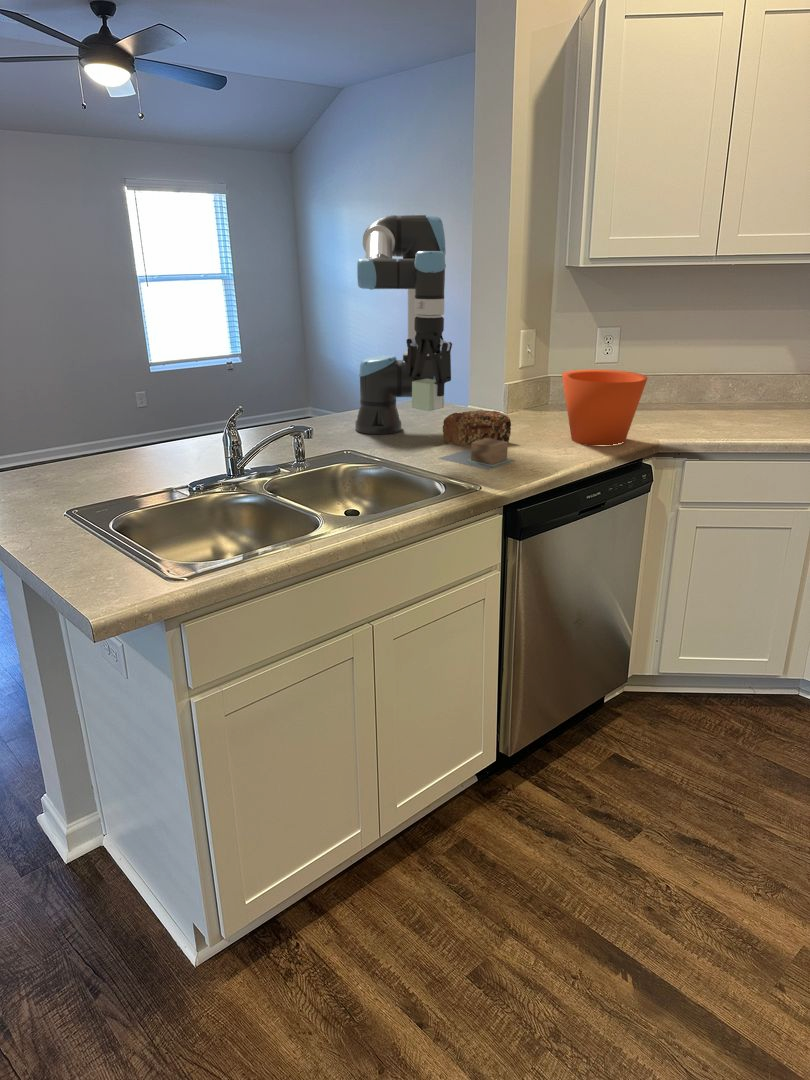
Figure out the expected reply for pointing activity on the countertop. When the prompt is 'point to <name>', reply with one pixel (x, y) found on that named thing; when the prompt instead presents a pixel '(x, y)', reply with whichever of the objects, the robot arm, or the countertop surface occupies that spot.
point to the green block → (424, 394)
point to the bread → (476, 427)
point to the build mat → (465, 459)
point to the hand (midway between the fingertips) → (427, 406)
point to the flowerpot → (601, 404)
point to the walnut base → (489, 451)
